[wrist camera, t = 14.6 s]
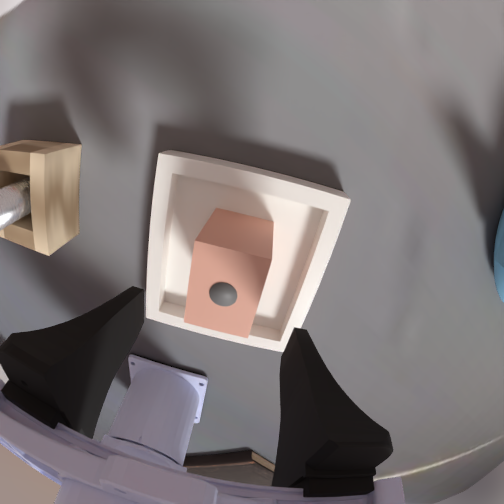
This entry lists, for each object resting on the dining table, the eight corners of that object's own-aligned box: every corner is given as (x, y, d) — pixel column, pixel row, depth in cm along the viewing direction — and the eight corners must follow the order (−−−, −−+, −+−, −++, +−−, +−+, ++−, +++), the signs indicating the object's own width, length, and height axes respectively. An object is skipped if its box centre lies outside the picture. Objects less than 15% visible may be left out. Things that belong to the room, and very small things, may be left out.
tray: (288, 337, 22) (289, 353, 20) (154, 303, 22) (146, 317, 20) (344, 191, 17) (351, 199, 15) (169, 149, 17) (158, 153, 15)
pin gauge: (59, 203, 19) (3, 236, 13) (39, 199, 19) (-16, 229, 13) (59, 171, 18) (-2, 197, 12) (38, 169, 17) (-21, 193, 12)
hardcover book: (300, 476, 38) (300, 487, 36) (199, 484, 45) (197, 493, 43) (252, 446, 33) (250, 460, 31) (144, 454, 39) (141, 464, 37)
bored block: (79, 233, 20) (49, 255, 16) (24, 216, 19) (-5, 234, 16) (81, 144, 17) (44, 154, 13) (23, 139, 16) (-11, 149, 13)
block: (254, 288, 20) (247, 339, 15) (203, 275, 20) (183, 322, 15) (273, 221, 18) (272, 260, 13) (216, 207, 17) (194, 240, 13)
